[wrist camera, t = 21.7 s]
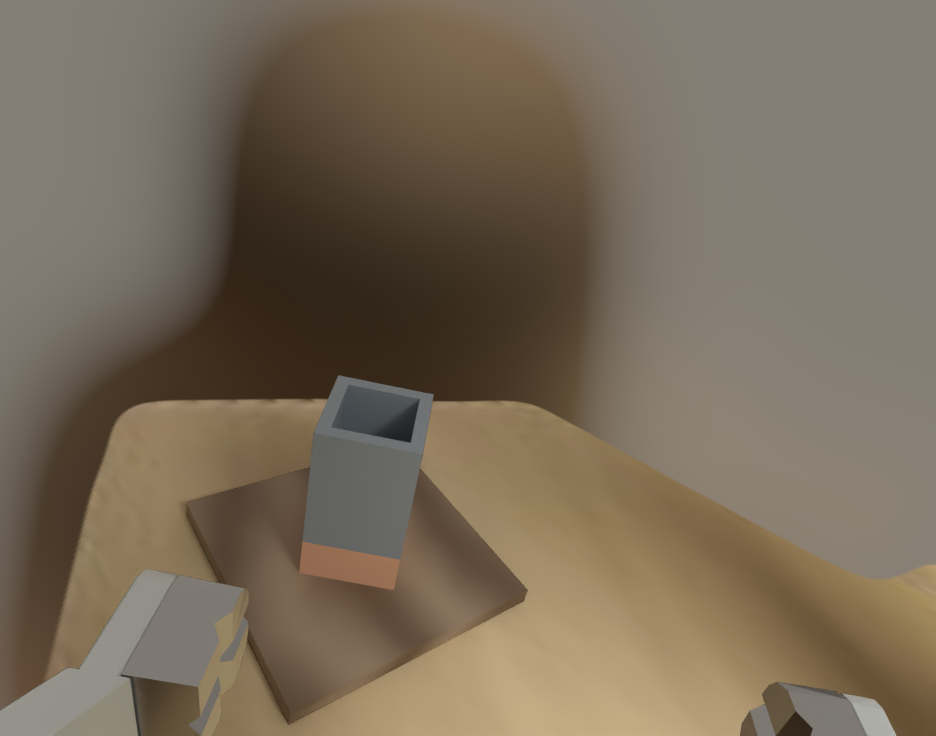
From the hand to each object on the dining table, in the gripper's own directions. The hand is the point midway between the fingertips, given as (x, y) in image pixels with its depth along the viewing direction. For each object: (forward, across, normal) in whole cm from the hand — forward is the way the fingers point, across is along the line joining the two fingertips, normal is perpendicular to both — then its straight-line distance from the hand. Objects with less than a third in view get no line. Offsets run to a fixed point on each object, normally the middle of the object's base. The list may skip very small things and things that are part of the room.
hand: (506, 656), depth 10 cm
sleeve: (+21, +5, +22) cm, 31 cm away
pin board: (+21, +5, +23) cm, 31 cm away
